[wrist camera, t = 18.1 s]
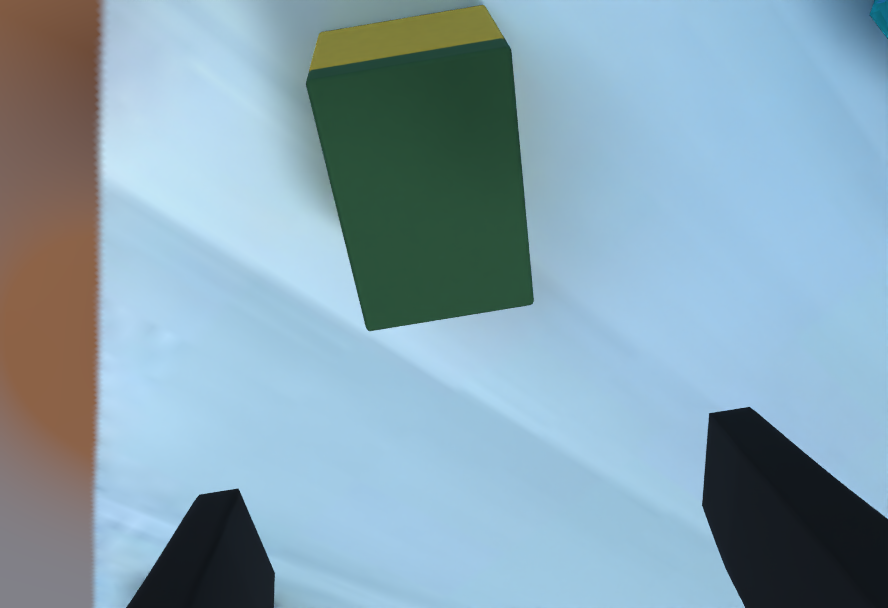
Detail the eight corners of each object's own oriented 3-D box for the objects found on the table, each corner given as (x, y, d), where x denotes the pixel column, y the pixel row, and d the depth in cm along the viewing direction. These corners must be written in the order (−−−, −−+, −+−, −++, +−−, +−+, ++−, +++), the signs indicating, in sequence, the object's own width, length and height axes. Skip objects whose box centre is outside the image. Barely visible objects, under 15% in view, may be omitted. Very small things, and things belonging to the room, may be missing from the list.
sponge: (485, 3, 17) (511, 46, 14) (508, 228, 21) (534, 306, 17) (317, 31, 17) (304, 81, 14) (368, 251, 21) (367, 333, 17)
